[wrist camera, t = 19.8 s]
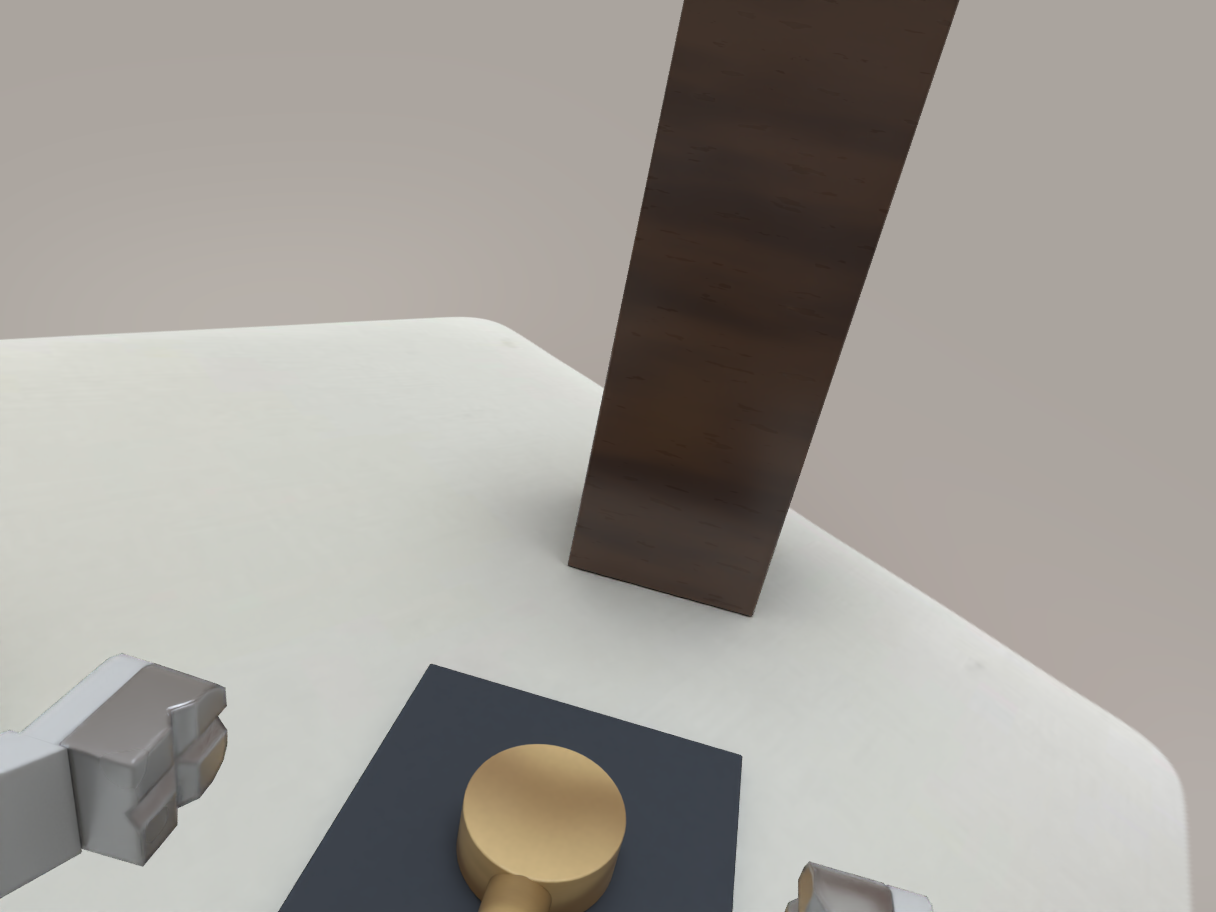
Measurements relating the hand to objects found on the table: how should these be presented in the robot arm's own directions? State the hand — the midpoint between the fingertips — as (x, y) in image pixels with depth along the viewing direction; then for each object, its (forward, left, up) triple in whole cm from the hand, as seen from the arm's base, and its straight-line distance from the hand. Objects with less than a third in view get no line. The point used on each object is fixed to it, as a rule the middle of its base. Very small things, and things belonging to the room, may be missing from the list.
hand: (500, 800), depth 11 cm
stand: (+23, -18, -13) cm, 32 cm away
